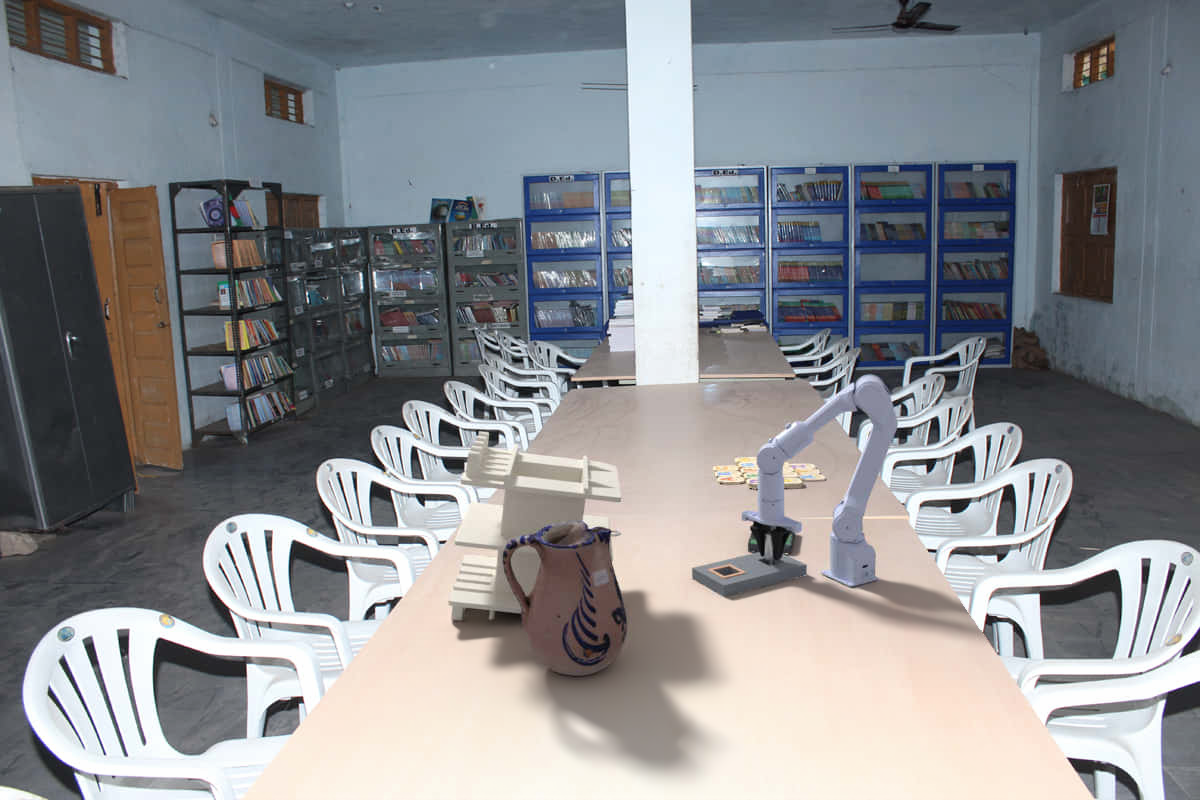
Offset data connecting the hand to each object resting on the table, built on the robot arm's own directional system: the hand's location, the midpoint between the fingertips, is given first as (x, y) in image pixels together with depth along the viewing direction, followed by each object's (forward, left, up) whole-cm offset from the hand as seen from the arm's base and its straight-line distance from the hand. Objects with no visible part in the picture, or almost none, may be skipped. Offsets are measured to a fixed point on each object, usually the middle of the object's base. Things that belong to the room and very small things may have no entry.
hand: (771, 557), depth 202 cm
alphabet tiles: (+66, -50, -4) cm, 83 cm away
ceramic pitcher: (-17, +58, -4) cm, 61 cm away
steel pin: (0, 0, -3) cm, 3 cm away
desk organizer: (+14, +50, -4) cm, 52 cm away
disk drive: (+15, -12, -4) cm, 20 cm away
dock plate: (0, +6, -3) cm, 7 cm away
